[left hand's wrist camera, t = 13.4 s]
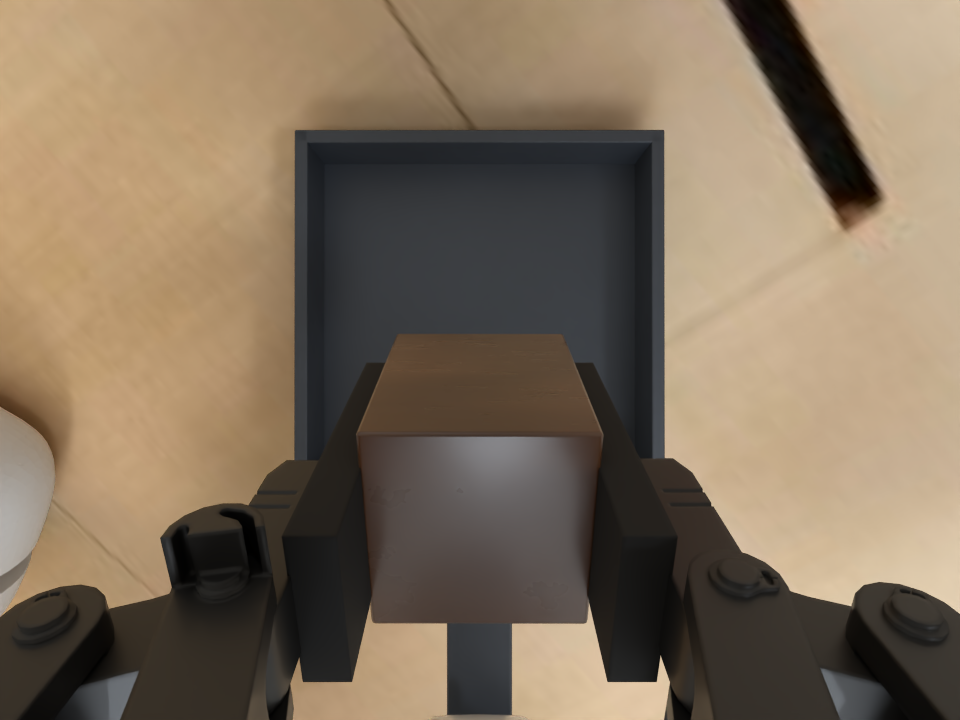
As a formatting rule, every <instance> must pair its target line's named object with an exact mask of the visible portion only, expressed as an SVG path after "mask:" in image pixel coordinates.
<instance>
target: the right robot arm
mask: <svg viewBox="0 0 960 720" xmlns="http://www.w3.org/2000/svg"><path fill="white" fill-rule="evenodd" d="M428 720H529V719H527V718H525V717H522V716H515V715H485V714H472V715H442V716H435V717H432V718H430V719H428Z"/></svg>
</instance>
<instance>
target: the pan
mask: <svg viewBox="0 0 960 720" xmlns="http://www.w3.org/2000/svg"><path fill="white" fill-rule="evenodd" d="M397 334H562V335H563V336H564V338H565V341H566V343H567V346H568V348H569V351H570V353H571V356H572V358H573V361H574V363H594V365H595V368H596V370H597V372H598V374H599V376H600V378H601V380H602V382H603V384H604V386H605V388H606V390H607V392H608V394H609V396H610V398H611V400H612V402H613V404H614V406H615V409H616V411H617V413H618V415H619V417H620V419H621V421H622V423H623V425H624V427H625V429H626V431H627V433H628V435H629V437H630V439H631V441H632V443H633V445H634V447H635V450H636V452H637V454H638V456H639V458H665V445H664V130H295V460H319V459H320V457H321V455H322V453H323V451H324V449H325V447H326V444H327V442H328V440H329V438H330V436H331V434H332V432H333V430H334V428H335V426H336V424H337V422H338V420H339V418H340V416H341V414H342V412H343V410H344V408H345V406H346V404H347V401H348V399H349V397H350V395H351V393H352V391H353V389H354V387H355V385H356V383H357V381H358V379H359V377H360V375H361V373H362V371H363V369H364V367H365V365H366V363H386V360H387V358H388V355H389V353H390V350H391V348H392V346H393V343H394V341H395V338H396V336H397ZM472 714H485V715H512V623H447V715H472Z"/></svg>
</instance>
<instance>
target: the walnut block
mask: <svg viewBox="0 0 960 720" xmlns="http://www.w3.org/2000/svg"><path fill="white" fill-rule="evenodd" d="M603 436H604V435H603V432H602V430H601V427H600V425H599V422H598V420H597V418H596V415H595V413H594V410H593V408H592V405H591V403H590V400H589V398H588V395H587V393H586V390H585V388H584V385H583V383H582V380H581V378H580V375H579V373H578V370H577V368H576V365H575V363H574V361H573V358H572V356H571V353H570V351H569V348H568V346H567V343H566V341H565V338H564V336H563V335H562V334H397V336H396V338H395V341H394V343H393V346H392V348H391V350H390V353H389V355H388V358H387V360H386V363H385V365H384V368H383V370H382V372H381V375H380V377H379V380H378V382H377V385H376V387H375V390H374V392H373V394H372V397H371V399H370V402H369V404H368V407H367V409H366V412H365V414H364V417H363V419H362V421H361V424H360V426H359V429H358V431H357V434H356V439H357V451H358V463H359V468H361V479H362V491H363V503H364V514H365V526H366V538H367V550H368V562H369V573H370V585H371V602H370V605H371V616H372V621H373V622H374V623H575V624H584V623H586V622H587V619H588V607H589V599H588V592H589V580H590V568H591V557H592V545H593V533H594V521H595V510H596V498H597V486H598V474H599V468H600V467H601V459H602V447H603Z"/></svg>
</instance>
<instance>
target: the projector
mask: <svg viewBox="0 0 960 720" xmlns="http://www.w3.org/2000/svg"><path fill="white" fill-rule="evenodd" d="M54 486H55V465H54V458H53V455H52V451H51V449H50V447H49V445H48V443H47V441H46V440H45V439H44V438H43V436H42V435H41V434H40V433H39V432H38V431H37V430H36V429H35V428H33V427H32V426H30V425H29V424H28V423H26V422H25V421H23V420H22V419H20V418H19V417H17V416H15V415H13V414H12V413H10V412H8V411H6V410H5V409H3V408H1V407H0V616H1V615H2V614H3V612H4V611H5V610H6V609H7V607H8V606H9V604H10V603H11V601H12V599H13V598H14V596H15V594H16V592H17V590H18V588H19V586H20V584H21V582H22V579H23V577H24V575H25V572H26V570H27V568H28V565H29V562H30V559H31V552H32V550H33V548H34V547H35V545H36V543H37V541H38V539H39V537H40V534H41V531H42V529H43V526H44V523H45V520H46V517H47V514H48V511H49V507H50V504H51V500H52V497H53V492H54Z"/></svg>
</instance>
